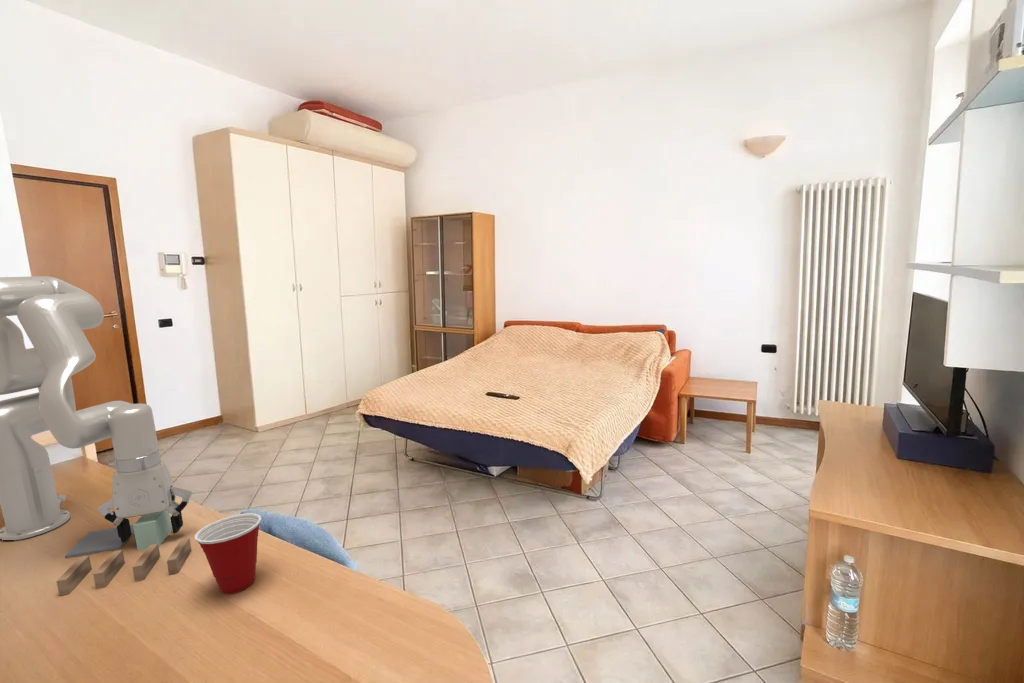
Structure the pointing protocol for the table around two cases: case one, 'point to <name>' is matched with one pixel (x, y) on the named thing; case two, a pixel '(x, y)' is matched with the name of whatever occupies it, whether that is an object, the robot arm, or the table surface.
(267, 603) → the table surface
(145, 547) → the block
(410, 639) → the table surface
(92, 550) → the pad
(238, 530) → the plastic cup
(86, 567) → the rack
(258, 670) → the table surface
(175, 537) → the table surface
